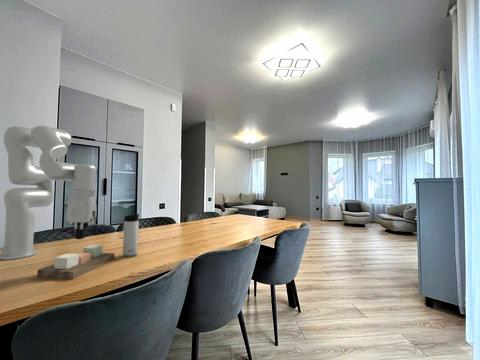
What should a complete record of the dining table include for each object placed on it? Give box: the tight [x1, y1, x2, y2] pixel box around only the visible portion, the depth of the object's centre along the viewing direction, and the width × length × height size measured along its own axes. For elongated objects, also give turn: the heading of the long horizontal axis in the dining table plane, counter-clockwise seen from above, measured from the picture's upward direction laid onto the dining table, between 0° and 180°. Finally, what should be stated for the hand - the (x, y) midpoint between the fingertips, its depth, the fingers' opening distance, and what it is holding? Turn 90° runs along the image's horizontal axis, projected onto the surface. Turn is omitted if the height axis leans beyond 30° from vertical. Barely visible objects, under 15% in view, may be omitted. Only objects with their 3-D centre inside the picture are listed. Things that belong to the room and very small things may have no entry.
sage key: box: [82, 244, 103, 258], centre depth 95 cm, size 5×5×4 cm
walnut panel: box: [36, 252, 115, 280], centre depth 88 cm, size 14×22×2 cm, turn 175°
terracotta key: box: [77, 252, 91, 264], centre depth 88 cm, size 5×5×4 cm
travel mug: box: [122, 213, 140, 258], centre depth 104 cm, size 6×7×20 cm
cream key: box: [53, 253, 79, 269], centre depth 82 cm, size 5×5×4 cm
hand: (80, 238), depth 89 cm, fingers closed
